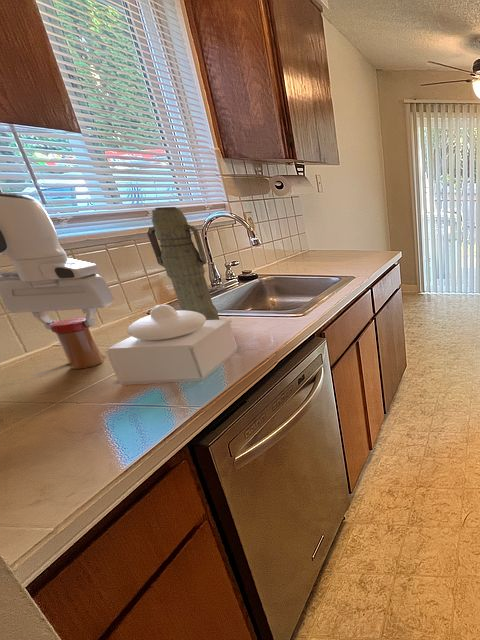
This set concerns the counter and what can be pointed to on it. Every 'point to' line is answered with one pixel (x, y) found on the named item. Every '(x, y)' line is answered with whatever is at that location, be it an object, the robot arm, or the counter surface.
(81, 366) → the jar
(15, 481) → the counter surface
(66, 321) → the lid
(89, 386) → the counter surface
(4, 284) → the robot arm
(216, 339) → the butter dish
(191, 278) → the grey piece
